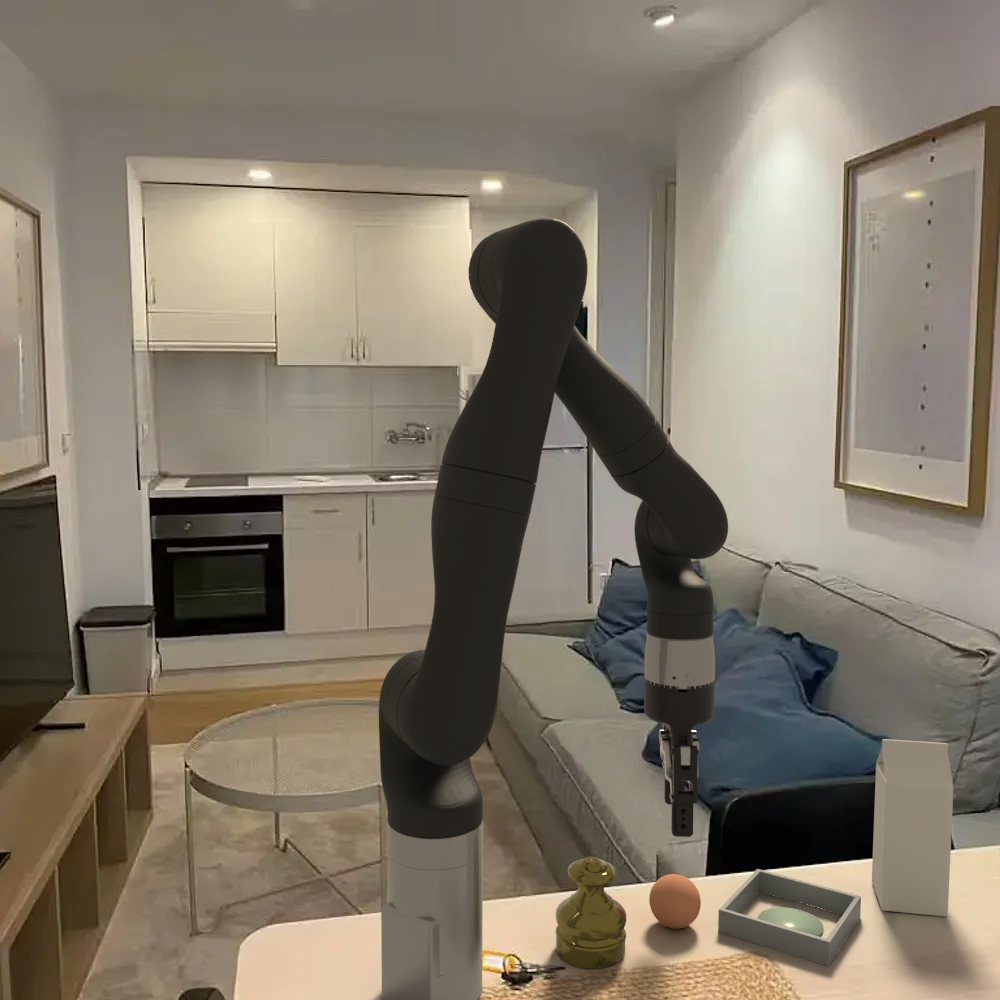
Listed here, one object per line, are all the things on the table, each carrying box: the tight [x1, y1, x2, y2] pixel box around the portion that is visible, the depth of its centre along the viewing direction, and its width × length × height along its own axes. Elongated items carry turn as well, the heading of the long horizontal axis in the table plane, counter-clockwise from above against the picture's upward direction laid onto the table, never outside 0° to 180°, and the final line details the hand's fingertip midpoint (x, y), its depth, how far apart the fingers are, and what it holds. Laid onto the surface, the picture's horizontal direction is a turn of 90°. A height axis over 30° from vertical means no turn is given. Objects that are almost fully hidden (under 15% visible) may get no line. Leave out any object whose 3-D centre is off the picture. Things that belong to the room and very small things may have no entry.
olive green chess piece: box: [555, 856, 627, 969], centre depth 106 cm, size 7×7×10 cm
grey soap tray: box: [717, 868, 862, 966], centre depth 112 cm, size 12×12×2 cm
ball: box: [648, 873, 702, 929], centre depth 111 cm, size 6×6×6 cm
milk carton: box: [871, 738, 955, 917], centre depth 117 cm, size 7×7×19 cm
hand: (678, 818), depth 111 cm, fingers open, 8 cm apart
